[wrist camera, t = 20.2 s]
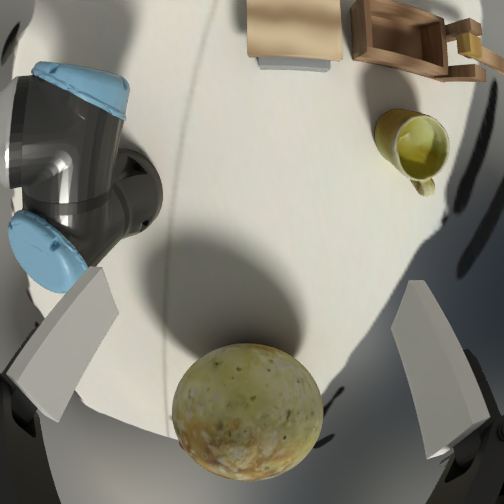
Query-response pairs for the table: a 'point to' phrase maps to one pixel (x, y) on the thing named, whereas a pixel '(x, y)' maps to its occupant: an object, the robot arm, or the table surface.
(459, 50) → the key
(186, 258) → the table surface
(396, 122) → the mug
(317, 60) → the block
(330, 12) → the lid
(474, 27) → the toolbox
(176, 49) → the table surface
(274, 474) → the speckled ball
